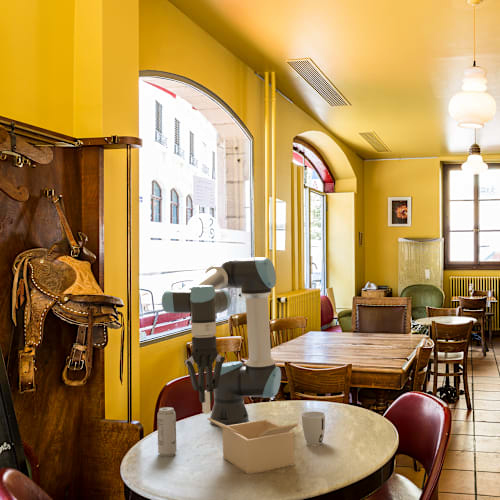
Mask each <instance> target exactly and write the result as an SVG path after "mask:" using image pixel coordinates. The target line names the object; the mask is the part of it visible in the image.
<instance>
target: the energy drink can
mask: <svg viewBox="0 0 500 500" xmlns="http://www.w3.org/2000/svg"><path fill="white" fill-rule="evenodd" d="M156 415H157V417H156V419H157V421H156V422H157V450H158V451H157V452H158V454H159V456H160V457H164V458H167V457H173V456H175V454H176V452H177V422H176V421H177V417H176V416H177V415H176V411H175V409H174V407H171V406H167V407H165V406H163V407H160V408H159V409H158V412H157V414H156Z"/></svg>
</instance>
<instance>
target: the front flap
mask: <svg viewBox="0 0 500 500" xmlns="http://www.w3.org/2000/svg"><path fill="white" fill-rule="evenodd" d="M280 426H281V427H275V428H270V429H267V430H266V431H264V432H263V433H261V434H260V435H259V437H262V436H268V435H273V434H279V433H285V432H289V431H290V430H291V431H293V429H295V428H296V427H298V426H299V424H298V423H293V424H288V425H283V426H282V425H280Z"/></svg>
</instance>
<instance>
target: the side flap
mask: <svg viewBox="0 0 500 500" xmlns="http://www.w3.org/2000/svg"><path fill="white" fill-rule="evenodd" d="M207 420H208V421H209V422H210V421H211V422H213V423H215V424H217V425H218V426H217V427H220V428H222V427H223V428H225V429H227V430H230V431H232V432H235V433H237V434H239V432H237V431H236V430H234V429H232V428H230V427H228V426H226V425H224V424H222V423H219V422H217V421H215V420H212V419H210V418H209V417H207Z"/></svg>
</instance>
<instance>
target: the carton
mask: <svg viewBox="0 0 500 500" xmlns="http://www.w3.org/2000/svg"><path fill="white" fill-rule="evenodd" d="M281 426H282V425H280V424H278V423H276V422H273V421H271V420H268V419H259V420H253V421H248V422H247V423H241V424H234V425H228V427H230V428H232V429H234V430H236V431H237V432H239V434H237V433H235V432H232V431H230V430H227V429H225V428H223V427H221V428H222V429H221V430H222V457H223V458H224V459H225V461H227V462H229V463H231V464H232V465H233V466H235V467H237V469H239V470H241V471H242V472H243V473H245V474H247V475H253V474H257V473H263V472H268V471H271V470H276V468H277V469H281V468H280V467H282V468H285V467H284V466H287V467H289V466H288V465H291V466H293V465H292V464H295V439H294V438H295V437H294V436H295V433H294V431H293V430H290V431H289V432H285V433H279V434H273V435H268V436H262V437H259V435H260V434H261V433H263V432H264V431H266V430H267V429H270V428H275V427H281Z"/></svg>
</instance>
